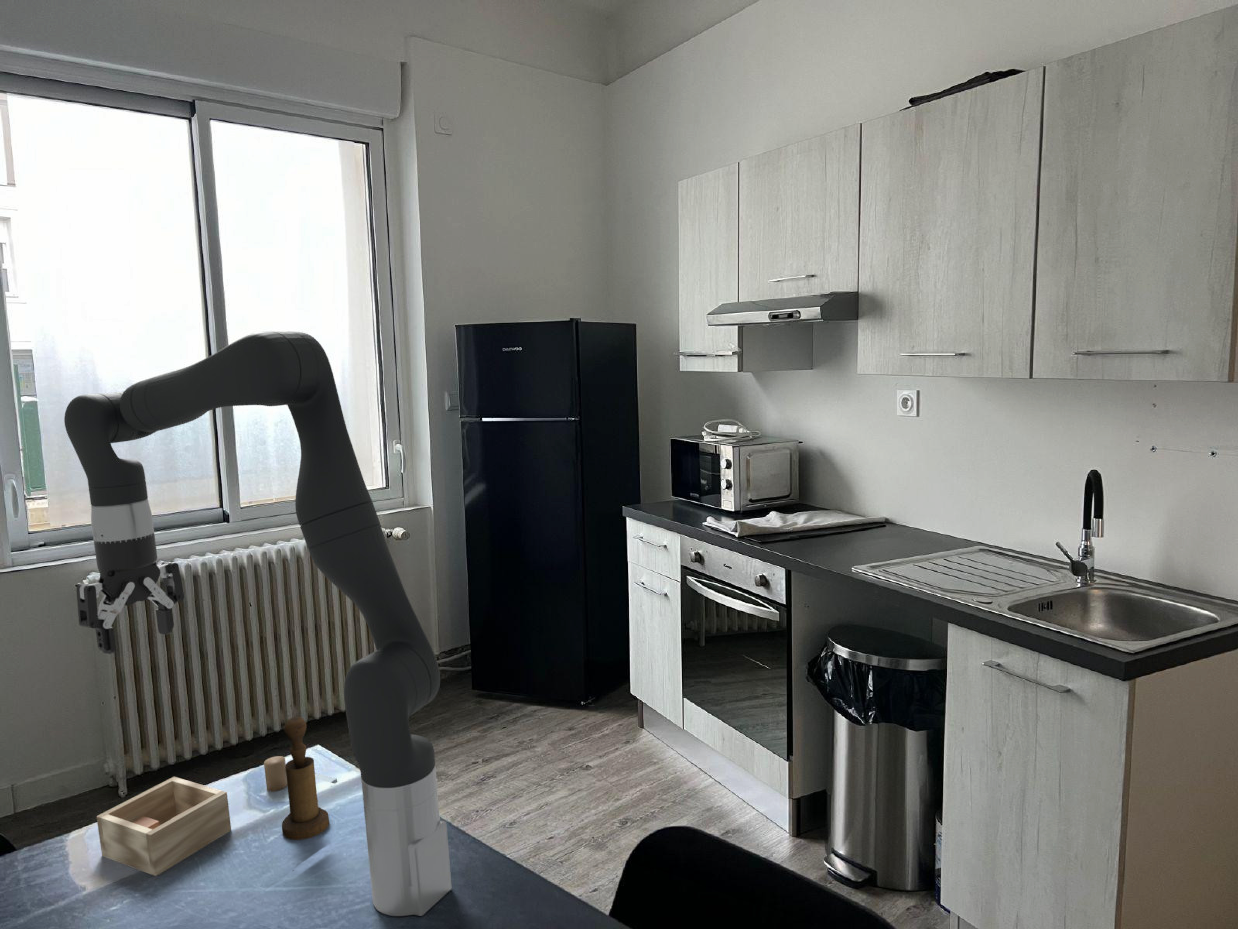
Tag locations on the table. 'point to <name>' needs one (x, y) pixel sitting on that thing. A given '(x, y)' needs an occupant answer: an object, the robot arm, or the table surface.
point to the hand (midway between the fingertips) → (138, 642)
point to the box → (164, 825)
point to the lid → (282, 774)
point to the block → (147, 822)
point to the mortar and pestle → (301, 789)
